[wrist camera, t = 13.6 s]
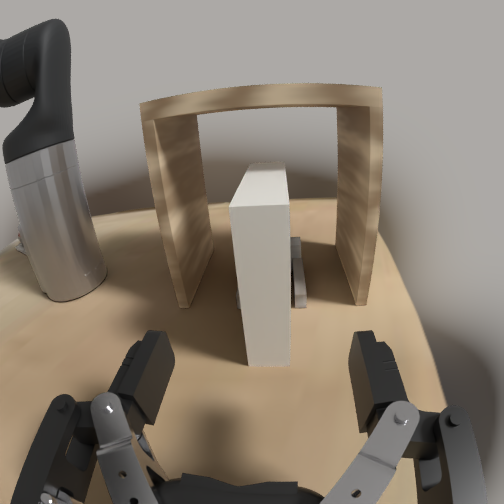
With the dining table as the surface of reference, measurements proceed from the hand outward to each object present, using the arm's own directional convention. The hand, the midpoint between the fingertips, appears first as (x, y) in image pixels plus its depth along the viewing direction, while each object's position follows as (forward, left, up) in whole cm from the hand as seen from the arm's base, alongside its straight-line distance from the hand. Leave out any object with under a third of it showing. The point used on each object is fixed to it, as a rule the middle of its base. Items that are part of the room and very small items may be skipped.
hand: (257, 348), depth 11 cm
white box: (0, +11, -8) cm, 14 cm away
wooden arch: (0, +18, -8) cm, 19 cm away
